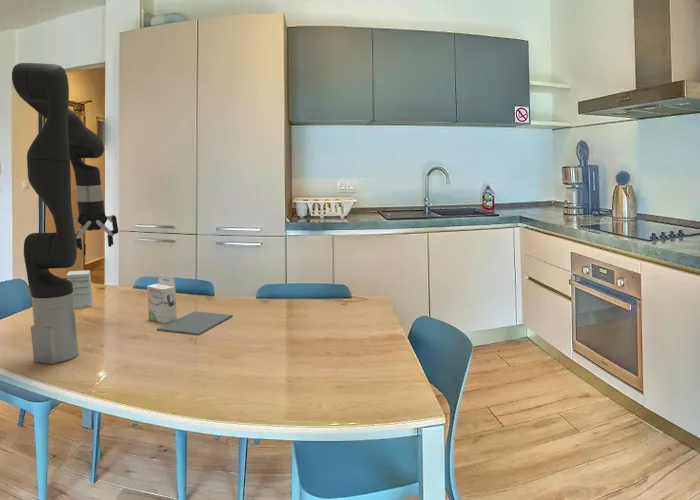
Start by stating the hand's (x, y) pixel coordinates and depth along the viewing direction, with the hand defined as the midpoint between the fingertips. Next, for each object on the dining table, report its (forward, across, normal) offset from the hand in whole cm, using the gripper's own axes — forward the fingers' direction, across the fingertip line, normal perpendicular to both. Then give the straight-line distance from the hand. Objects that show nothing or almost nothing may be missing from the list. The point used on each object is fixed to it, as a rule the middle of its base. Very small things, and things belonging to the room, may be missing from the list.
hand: (95, 247), depth 154 cm
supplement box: (+26, -5, +20) cm, 33 cm away
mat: (+23, +24, -25) cm, 42 cm away
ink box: (+24, +16, -15) cm, 32 cm away
